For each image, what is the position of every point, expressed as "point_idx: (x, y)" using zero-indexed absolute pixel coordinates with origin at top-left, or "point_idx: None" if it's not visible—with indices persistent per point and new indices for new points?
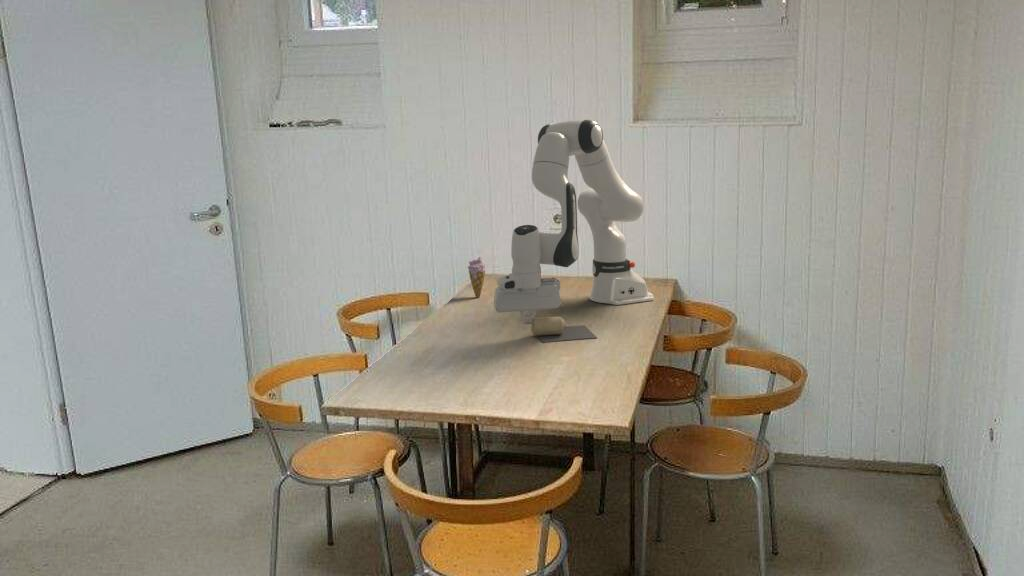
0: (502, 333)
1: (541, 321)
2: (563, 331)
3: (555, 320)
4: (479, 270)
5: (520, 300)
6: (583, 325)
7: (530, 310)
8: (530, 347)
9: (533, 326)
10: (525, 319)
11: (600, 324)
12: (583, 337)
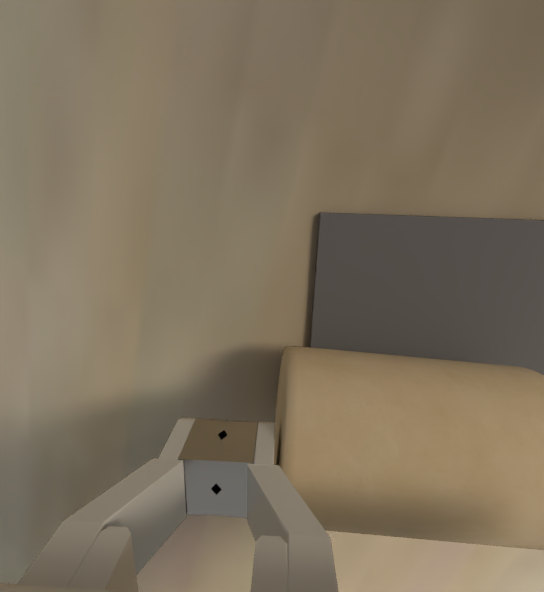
0: (76, 229)
1: (351, 532)
2: (522, 348)
3: (500, 544)
4: None
5: None
6: None
7: (253, 564)
8: (214, 541)
9: (274, 459)
10: (185, 509)
11: None
12: None
